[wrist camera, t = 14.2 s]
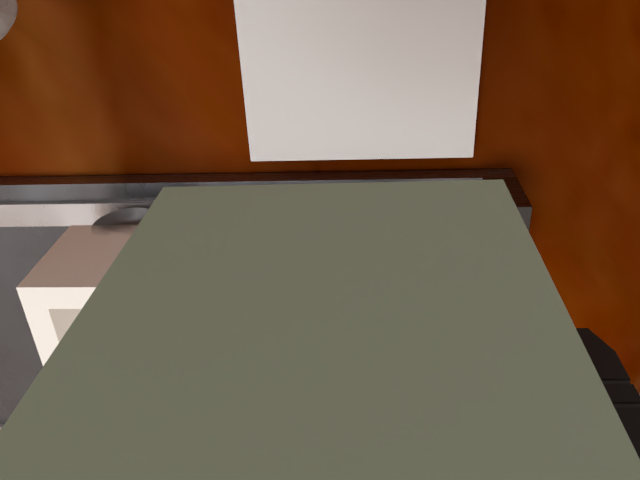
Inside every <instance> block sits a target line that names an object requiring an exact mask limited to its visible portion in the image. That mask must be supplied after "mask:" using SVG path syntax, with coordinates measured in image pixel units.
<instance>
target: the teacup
mask: <svg viewBox="0 0 640 480" xmlns="http://www.w3.org/2000/svg"><path fill="white" fill-rule="evenodd" d="M16 16H17V1H16V0H0V40H1V39H2V38H3V37H4V36H5V35H6V34H7V32H8V31H9V29H10V28H11V26H12V25H13V23H14V21H15V19H16Z"/></svg>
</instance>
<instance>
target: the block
mask: <svg viewBox="0 0 640 480" xmlns="http://www.w3.org/2000/svg"><path fill="white" fill-rule="evenodd" d="M0 480H640V459H639V457H638V455H637V453H636V451H635V449H634V447H633V445H632V442H631V440H630V438H629V436H628V434H627V432H626V430H625V428H624V426H623V424H622V422H621V420H620V418H619V416H618V414H617V412H616V410H615V408H614V406H613V404H612V401H611V399H610V397H609V395H608V393H607V391H606V389H605V387H604V385H603V383H602V381H601V379H600V377H599V375H598V373H597V371H596V369H595V367H594V365H593V363H592V361H591V358H590V356H589V354H588V352H587V350H586V348H585V346H584V344H583V342H582V340H581V338H580V336H579V334H578V332H577V330H576V328H575V326H574V324H573V322H572V320H571V317H570V315H569V313H568V311H567V309H566V307H565V305H564V303H563V301H562V299H561V297H560V295H559V293H558V291H557V289H556V287H555V285H554V283H553V281H552V279H551V277H550V274H549V272H548V270H547V268H546V266H545V264H544V262H543V260H542V258H541V256H540V254H539V252H538V250H537V248H536V246H535V244H534V242H533V240H532V238H531V236H530V233H529V231H528V229H527V227H526V225H525V223H524V221H523V219H522V217H521V215H520V213H519V211H518V209H517V207H516V205H515V203H514V201H513V199H512V197H511V195H510V193H509V190H508V188H507V186H506V184H505V182H504V180H503V179H499V180H455V181H411V182H367V183H323V184H279V185H235V186H191V187H163V188H162V190H161V191H160V193H159V194H158V196H157V197H156V199H155V200H154V202H153V203H152V205H151V206H150V208H149V209H148V211H147V212H146V214H145V215H144V217H143V218H142V220H141V221H140V223H139V224H138V226H137V227H136V229H135V230H134V232H133V233H132V235H131V236H130V238H129V239H128V241H127V242H126V244H125V245H124V247H123V248H122V250H121V251H120V253H119V254H118V256H117V257H116V259H115V260H114V262H113V263H112V265H111V266H110V268H109V269H108V271H107V272H106V273H105V275H104V276H103V278H102V279H101V281H100V282H99V284H98V285H97V287H96V288H95V290H94V291H93V293H92V294H91V296H90V297H89V299H88V300H87V302H86V303H85V305H84V306H83V308H82V309H81V311H80V312H79V314H78V315H77V317H76V318H75V320H74V321H73V323H72V324H71V326H70V327H69V329H68V330H67V332H66V333H65V335H64V336H63V338H62V339H61V341H60V342H59V344H58V345H57V347H56V348H55V350H54V351H53V353H52V354H51V356H50V357H49V359H48V360H47V361H46V363H45V364H44V366H43V367H42V369H41V370H40V372H39V373H38V375H37V376H36V378H35V379H34V381H33V382H32V384H31V385H30V387H29V388H28V390H27V391H26V393H25V394H24V396H23V397H22V399H21V400H20V402H19V403H18V405H17V406H16V408H15V409H14V411H13V412H12V414H11V415H10V417H9V418H8V420H7V421H6V423H5V424H4V426H3V427H2V429H1V430H0Z"/></svg>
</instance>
